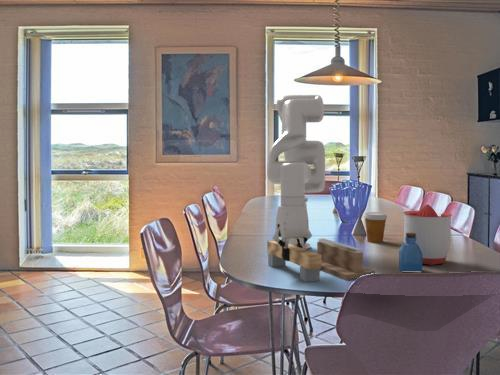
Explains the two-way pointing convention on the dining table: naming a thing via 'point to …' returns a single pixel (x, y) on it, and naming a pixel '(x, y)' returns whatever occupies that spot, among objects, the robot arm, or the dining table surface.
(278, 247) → the oak batten
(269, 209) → the dining table surface
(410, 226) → the citrus juicer
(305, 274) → the pair of grey cubes
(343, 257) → the stand
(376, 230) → the disposable coffee cup
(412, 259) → the perfume bottle
